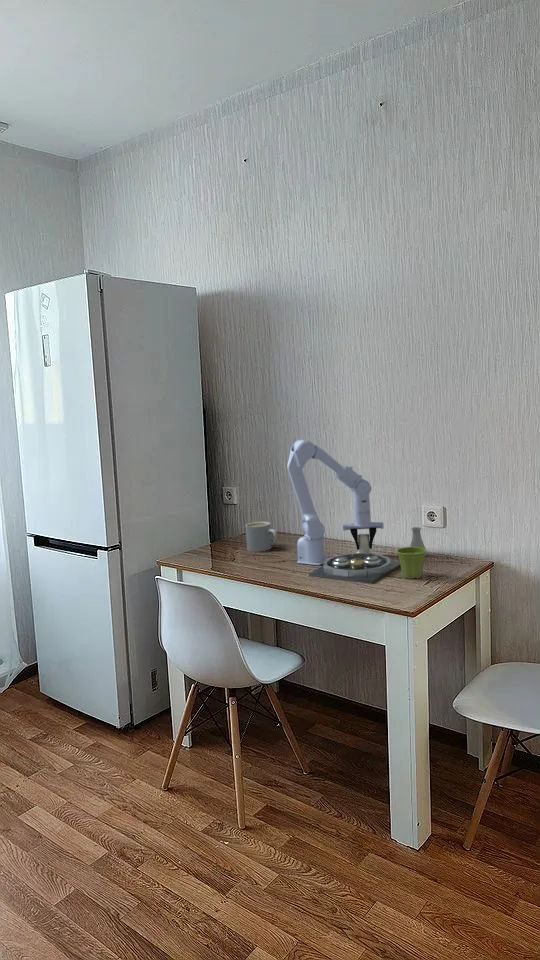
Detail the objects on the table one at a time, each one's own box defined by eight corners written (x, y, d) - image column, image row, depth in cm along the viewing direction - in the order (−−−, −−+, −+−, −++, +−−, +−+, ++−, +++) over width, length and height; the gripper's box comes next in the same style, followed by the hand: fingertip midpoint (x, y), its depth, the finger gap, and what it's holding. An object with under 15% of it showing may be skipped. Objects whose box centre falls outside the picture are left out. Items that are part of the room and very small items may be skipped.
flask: (422, 558, 241) (421, 530, 239) (403, 556, 245) (402, 529, 244) (431, 553, 246) (430, 526, 245) (412, 552, 251) (411, 525, 249)
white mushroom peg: (353, 557, 248) (352, 536, 247) (361, 553, 253) (360, 532, 252) (368, 559, 245) (367, 537, 244) (375, 555, 250) (374, 533, 249)
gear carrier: (309, 575, 229) (308, 565, 229) (343, 558, 248) (343, 549, 248) (372, 583, 216) (372, 572, 215) (404, 564, 235) (403, 554, 234)
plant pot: (406, 571, 227) (405, 545, 226) (432, 574, 221) (431, 548, 220) (392, 578, 220) (390, 552, 219) (418, 582, 214) (417, 555, 213)
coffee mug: (241, 550, 272) (239, 525, 270) (259, 544, 279) (257, 520, 278) (266, 554, 263) (264, 528, 261) (283, 548, 270) (281, 523, 269)
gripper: (381, 508, 250) (383, 545, 252) (341, 510, 251) (344, 546, 253) (383, 512, 243) (385, 549, 245) (342, 514, 245) (344, 551, 246)
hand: (364, 548), depth 249 cm, fingers closed on white mushroom peg, 4 cm apart
